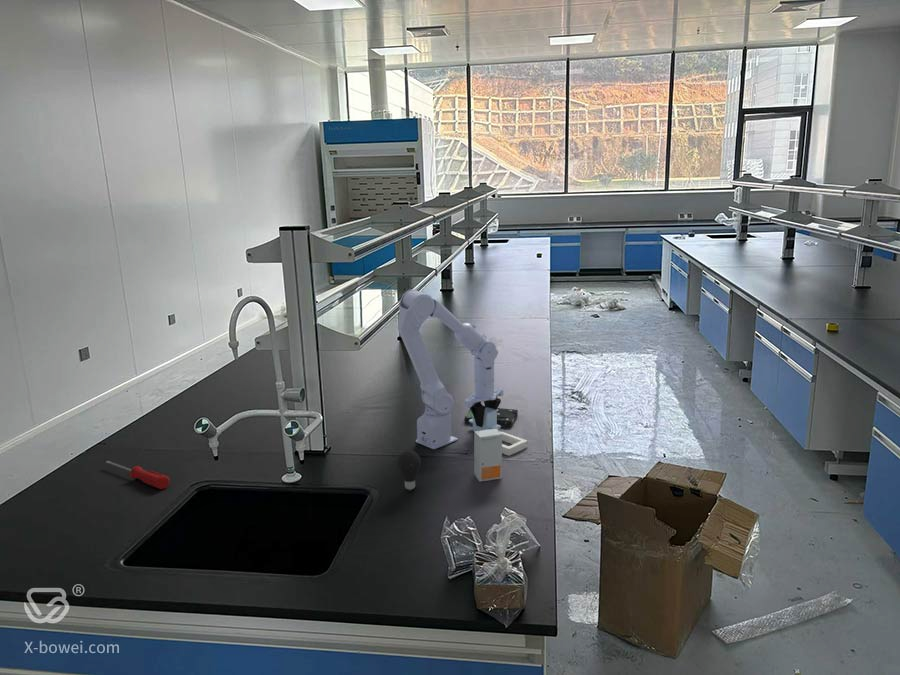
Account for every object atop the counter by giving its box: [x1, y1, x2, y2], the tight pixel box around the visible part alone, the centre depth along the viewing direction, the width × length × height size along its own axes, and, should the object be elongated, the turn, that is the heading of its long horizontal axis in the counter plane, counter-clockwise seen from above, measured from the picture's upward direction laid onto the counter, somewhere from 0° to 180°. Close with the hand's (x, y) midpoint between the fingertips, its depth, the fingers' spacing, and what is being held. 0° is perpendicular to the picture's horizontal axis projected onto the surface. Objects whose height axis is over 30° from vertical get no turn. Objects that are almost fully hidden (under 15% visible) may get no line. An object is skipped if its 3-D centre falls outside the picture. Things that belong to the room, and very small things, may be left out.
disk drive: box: [463, 407, 519, 429], centre depth 197 cm, size 10×3×15 cm
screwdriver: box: [106, 460, 171, 490], centre depth 163 cm, size 4×25×4 cm, turn 58°
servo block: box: [469, 407, 502, 432], centre depth 187 cm, size 4×10×8 cm, turn 44°
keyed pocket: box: [499, 431, 528, 457], centre depth 177 cm, size 8×10×2 cm
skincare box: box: [473, 429, 503, 483], centre depth 158 cm, size 6×4×12 cm
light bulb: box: [397, 449, 422, 491], centre depth 153 cm, size 6×6×10 cm
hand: (484, 424), depth 188 cm, fingers closed on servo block, 4 cm apart
